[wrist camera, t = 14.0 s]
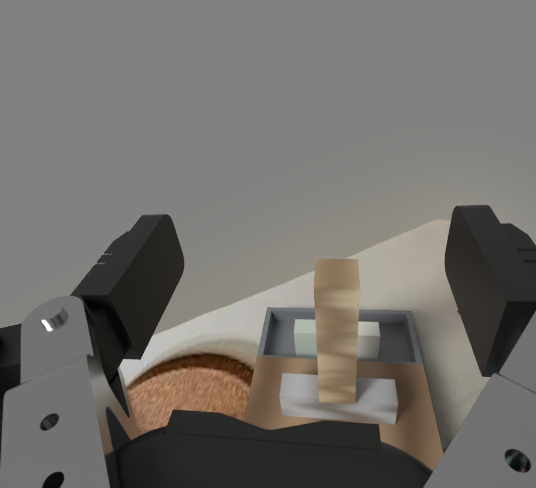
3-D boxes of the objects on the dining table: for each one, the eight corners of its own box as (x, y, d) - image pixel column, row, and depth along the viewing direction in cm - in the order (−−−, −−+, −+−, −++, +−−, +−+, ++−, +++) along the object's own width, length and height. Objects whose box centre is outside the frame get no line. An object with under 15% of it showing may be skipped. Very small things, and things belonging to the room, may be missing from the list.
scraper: (391, 397, 36) (409, 259, 27) (395, 427, 33) (416, 287, 24) (285, 389, 37) (268, 258, 28) (281, 418, 35) (262, 284, 26)
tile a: (378, 361, 42) (376, 346, 44) (380, 336, 40) (378, 322, 41) (341, 359, 43) (340, 345, 44) (341, 334, 40) (340, 320, 42)
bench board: (419, 382, 40) (423, 364, 38) (447, 514, 30) (453, 497, 28) (260, 373, 43) (257, 356, 41) (238, 490, 33) (232, 474, 31)
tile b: (331, 358, 43) (331, 344, 45) (331, 333, 41) (331, 320, 42) (296, 356, 44) (297, 343, 45) (293, 332, 41) (295, 319, 43)
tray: (408, 325, 46) (410, 311, 45) (420, 382, 40) (423, 367, 38) (269, 321, 49) (267, 307, 48) (259, 373, 43) (256, 359, 41)
